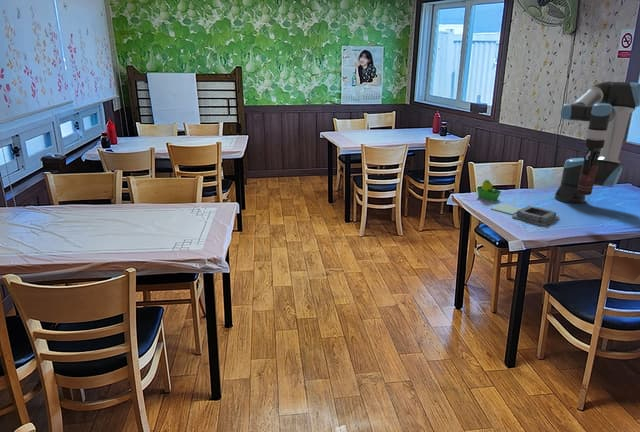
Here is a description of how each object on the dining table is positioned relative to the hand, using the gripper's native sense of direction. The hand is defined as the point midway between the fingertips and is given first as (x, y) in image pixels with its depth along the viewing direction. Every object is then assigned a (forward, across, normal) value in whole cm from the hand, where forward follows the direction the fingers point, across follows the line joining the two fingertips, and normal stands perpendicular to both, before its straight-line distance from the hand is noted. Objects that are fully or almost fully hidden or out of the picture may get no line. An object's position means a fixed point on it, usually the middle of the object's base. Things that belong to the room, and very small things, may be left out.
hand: (585, 188), depth 214 cm
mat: (+17, +9, -32) cm, 37 cm away
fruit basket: (+18, -1, -49) cm, 52 cm away
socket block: (+17, +11, -16) cm, 26 cm away
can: (+3, 0, 0) cm, 3 cm away
